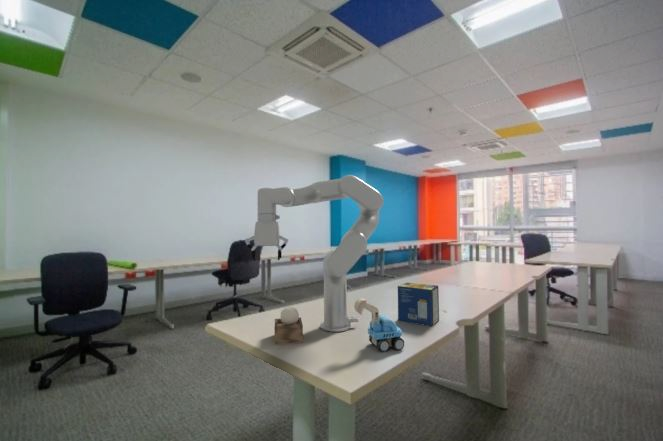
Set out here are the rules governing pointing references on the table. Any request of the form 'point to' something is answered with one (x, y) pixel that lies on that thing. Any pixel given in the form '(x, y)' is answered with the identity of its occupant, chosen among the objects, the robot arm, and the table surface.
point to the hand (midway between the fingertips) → (266, 260)
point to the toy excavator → (381, 328)
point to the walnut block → (288, 332)
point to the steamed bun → (289, 316)
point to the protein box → (418, 303)
